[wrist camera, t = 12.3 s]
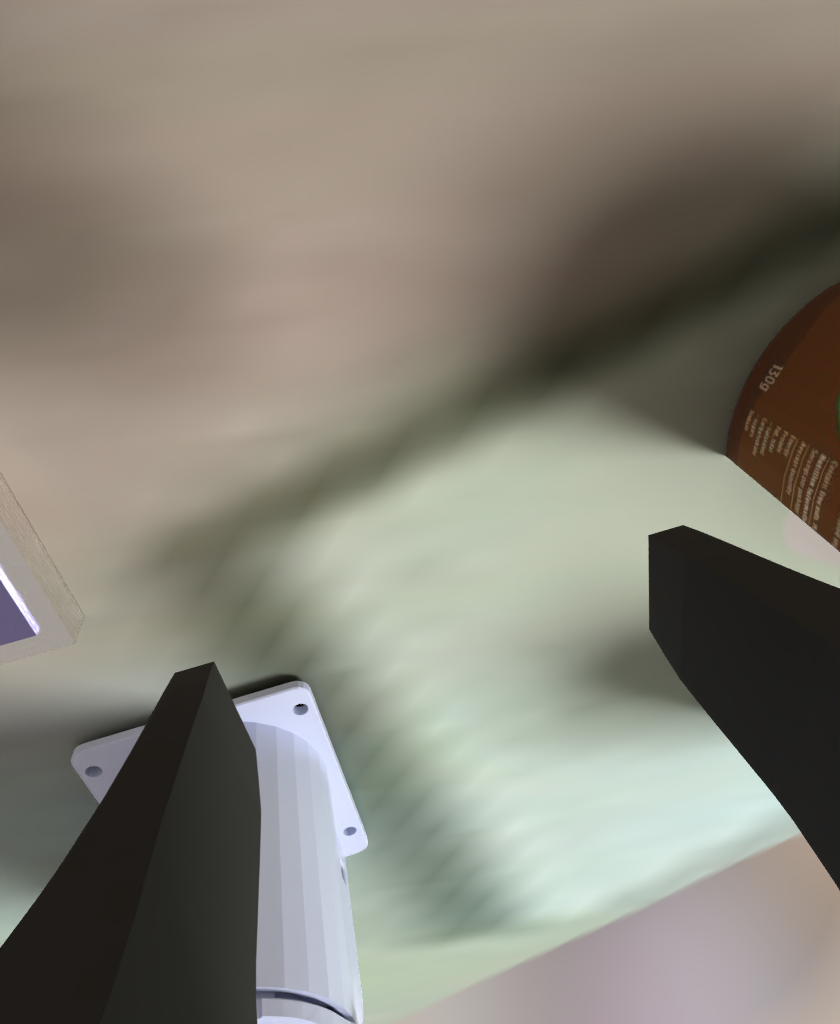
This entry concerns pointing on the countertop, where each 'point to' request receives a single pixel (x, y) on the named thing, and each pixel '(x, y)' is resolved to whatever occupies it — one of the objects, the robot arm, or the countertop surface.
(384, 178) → the countertop surface
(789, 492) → the food container
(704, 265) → the countertop surface
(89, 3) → the countertop surface
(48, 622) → the ink pad
